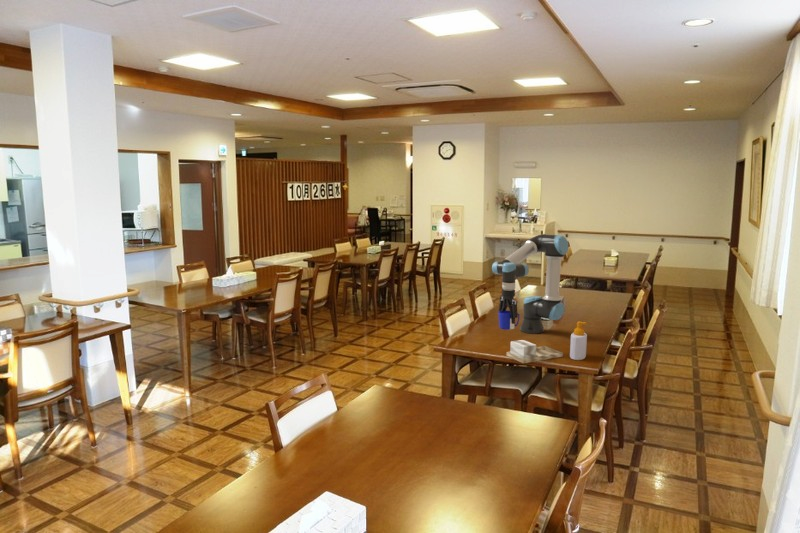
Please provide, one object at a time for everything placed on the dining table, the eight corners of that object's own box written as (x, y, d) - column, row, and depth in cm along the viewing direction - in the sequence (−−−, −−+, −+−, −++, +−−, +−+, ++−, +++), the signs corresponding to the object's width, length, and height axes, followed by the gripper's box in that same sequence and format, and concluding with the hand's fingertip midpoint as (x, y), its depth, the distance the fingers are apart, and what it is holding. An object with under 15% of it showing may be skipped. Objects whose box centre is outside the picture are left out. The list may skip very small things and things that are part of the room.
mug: (519, 330, 319) (519, 314, 317) (498, 330, 321) (498, 313, 319) (518, 327, 327) (519, 310, 325) (498, 326, 329) (498, 310, 327)
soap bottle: (582, 361, 302) (584, 325, 299) (567, 358, 307) (569, 323, 304) (588, 355, 314) (590, 320, 311) (573, 352, 318) (575, 318, 315)
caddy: (544, 349, 324) (545, 334, 323) (562, 356, 311) (563, 341, 310) (506, 355, 312) (506, 340, 311) (523, 363, 299) (524, 347, 297)
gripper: (492, 286, 328) (492, 324, 332) (514, 293, 310) (513, 332, 314) (503, 285, 331) (502, 322, 335) (525, 291, 313) (523, 330, 317)
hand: (507, 327), depth 324 cm, fingers closed on mug, 8 cm apart
